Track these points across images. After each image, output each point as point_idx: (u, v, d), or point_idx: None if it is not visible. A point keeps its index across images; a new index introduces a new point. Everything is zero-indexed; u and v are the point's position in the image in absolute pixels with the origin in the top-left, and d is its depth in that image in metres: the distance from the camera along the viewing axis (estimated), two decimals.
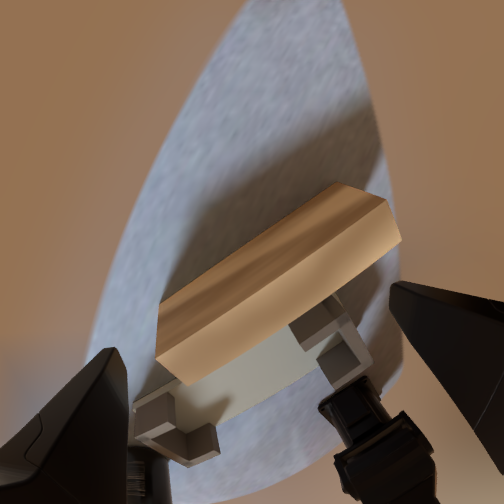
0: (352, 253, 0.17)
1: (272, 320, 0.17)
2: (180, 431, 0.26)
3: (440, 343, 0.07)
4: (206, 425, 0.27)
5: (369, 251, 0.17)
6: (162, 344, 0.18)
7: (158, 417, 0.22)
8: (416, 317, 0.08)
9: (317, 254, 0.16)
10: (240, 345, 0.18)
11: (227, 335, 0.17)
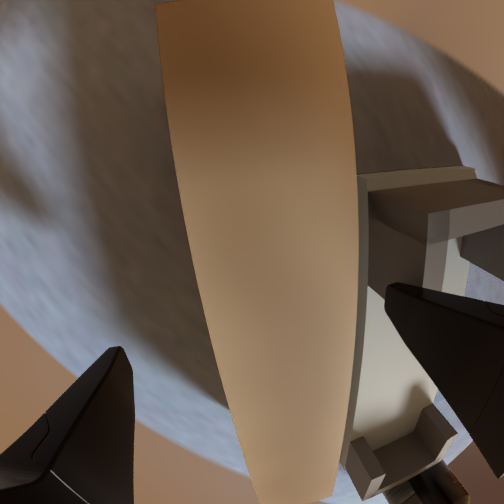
0: (274, 186, 0.05)
1: (318, 415, 0.07)
2: (405, 437, 0.19)
3: (435, 345, 0.07)
4: (422, 413, 0.18)
5: (306, 118, 0.05)
6: None
7: (363, 475, 0.15)
8: (411, 319, 0.08)
9: (213, 299, 0.05)
10: (323, 454, 0.08)
11: (291, 466, 0.08)
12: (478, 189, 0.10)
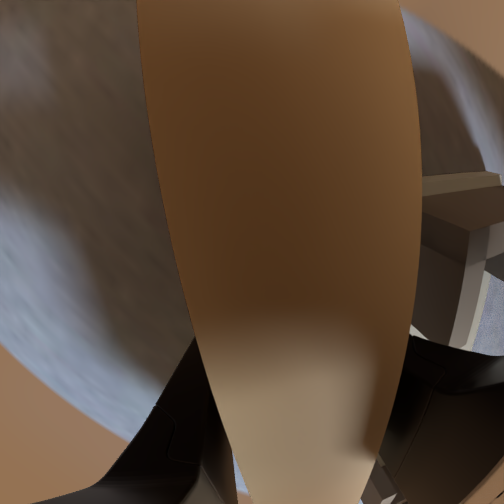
0: (315, 212, 0.03)
1: (343, 469, 0.05)
2: None
3: None
4: None
5: (360, 109, 0.03)
6: None
7: (373, 494, 0.13)
8: None
9: (223, 370, 0.04)
10: (343, 499, 0.06)
11: None
12: None
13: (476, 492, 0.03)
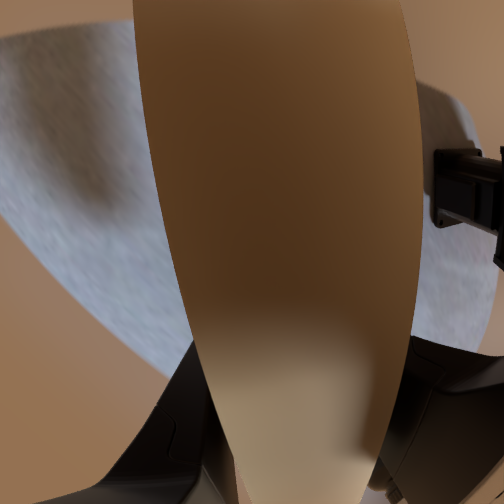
0: (315, 213, 0.03)
1: (343, 471, 0.05)
2: None
3: None
4: None
5: (361, 109, 0.03)
6: None
7: None
8: None
9: (221, 373, 0.04)
10: (344, 500, 0.06)
11: None
12: None
13: (475, 492, 0.03)
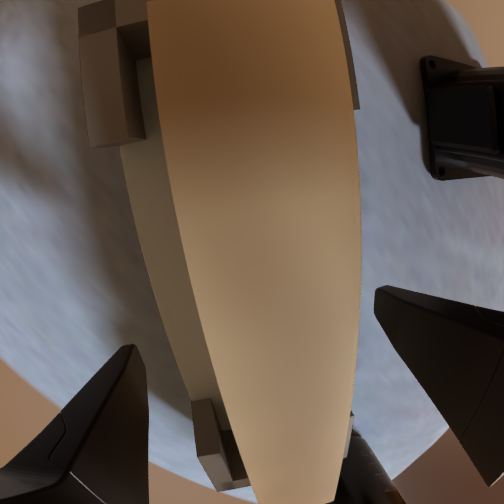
0: (273, 192, 0.05)
1: (319, 423, 0.07)
2: None
3: (424, 351, 0.07)
4: None
5: (306, 120, 0.04)
6: None
7: None
8: (400, 323, 0.08)
9: (211, 310, 0.05)
10: (325, 461, 0.08)
11: (292, 474, 0.08)
12: None
13: None
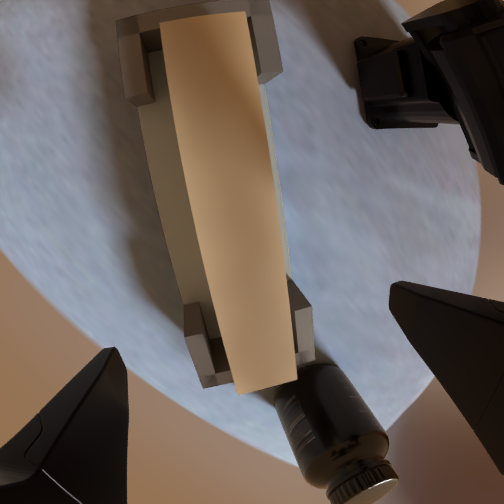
0: (216, 100, 0.09)
1: (261, 257, 0.12)
2: None
3: (440, 343, 0.07)
4: None
5: (230, 69, 0.09)
6: None
7: None
8: (416, 317, 0.08)
9: (187, 158, 0.10)
10: (275, 308, 0.13)
11: (250, 318, 0.13)
12: None
13: None
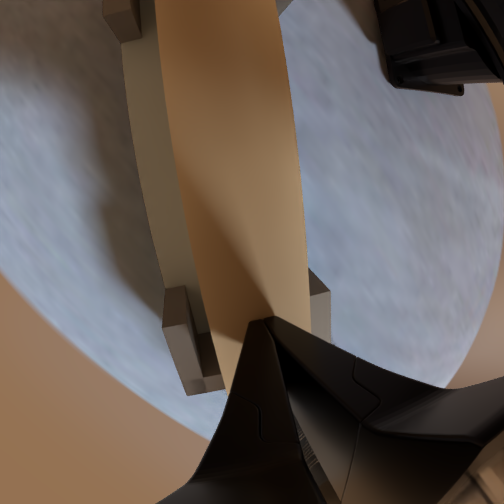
0: None
1: (270, 203, 0.08)
2: None
3: (298, 398, 0.07)
4: None
5: None
6: None
7: None
8: None
9: (168, 54, 0.06)
10: (288, 284, 0.09)
11: (252, 297, 0.09)
12: None
13: None
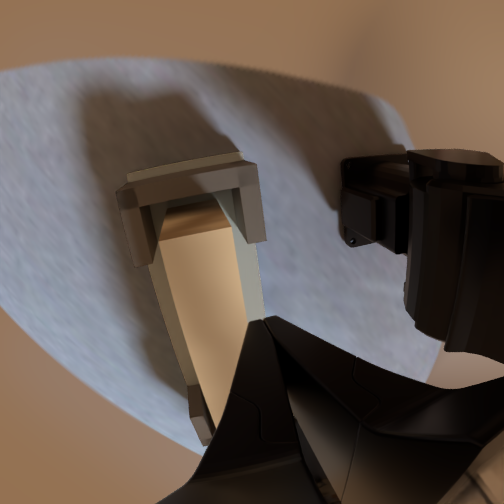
0: (210, 306, 0.14)
1: None
2: None
3: (297, 398, 0.07)
4: None
5: (220, 282, 0.13)
6: None
7: None
8: None
9: (191, 343, 0.14)
10: None
11: None
12: (206, 168, 0.16)
13: None
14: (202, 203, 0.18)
